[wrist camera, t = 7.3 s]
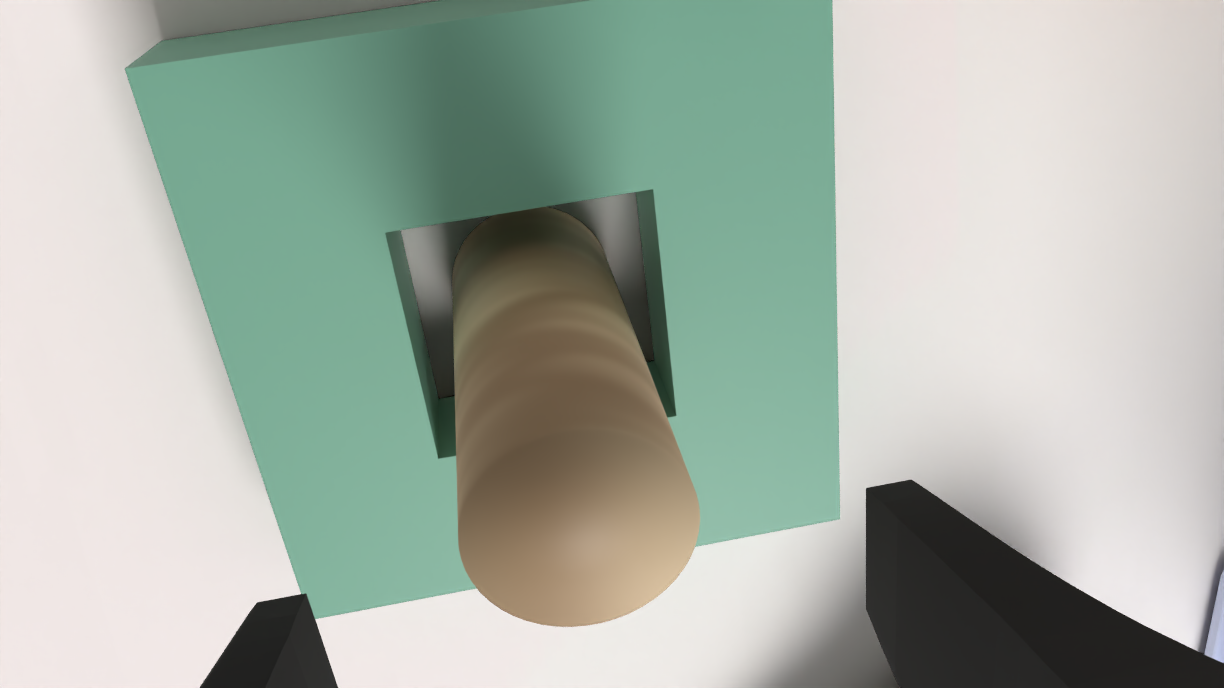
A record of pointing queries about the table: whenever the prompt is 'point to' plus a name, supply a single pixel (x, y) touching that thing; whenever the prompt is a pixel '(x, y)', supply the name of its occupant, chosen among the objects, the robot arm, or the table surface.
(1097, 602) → the robot arm
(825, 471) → the socket block
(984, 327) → the table surface
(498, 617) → the table surface
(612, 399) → the dowel
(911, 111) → the table surface
